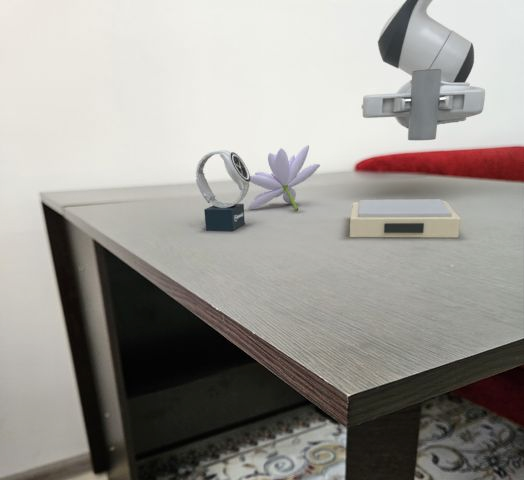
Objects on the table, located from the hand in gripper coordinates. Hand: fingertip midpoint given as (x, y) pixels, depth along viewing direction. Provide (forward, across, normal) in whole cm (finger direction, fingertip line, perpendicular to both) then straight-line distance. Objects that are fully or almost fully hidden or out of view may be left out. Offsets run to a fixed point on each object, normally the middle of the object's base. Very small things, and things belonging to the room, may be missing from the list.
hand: (425, 103), depth 85 cm
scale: (+18, -4, +16) cm, 25 cm away
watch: (+18, -30, +16) cm, 39 cm away
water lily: (0, -24, +16) cm, 29 cm away
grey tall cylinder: (-1, 0, +6) cm, 6 cm away
